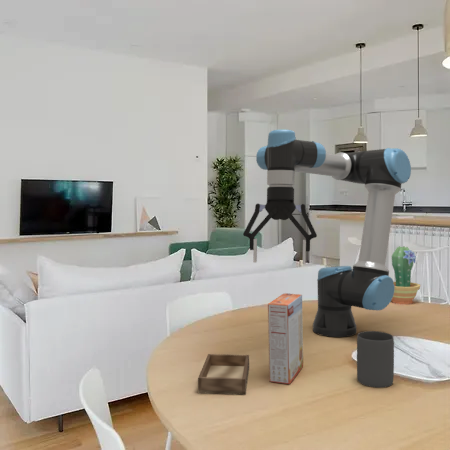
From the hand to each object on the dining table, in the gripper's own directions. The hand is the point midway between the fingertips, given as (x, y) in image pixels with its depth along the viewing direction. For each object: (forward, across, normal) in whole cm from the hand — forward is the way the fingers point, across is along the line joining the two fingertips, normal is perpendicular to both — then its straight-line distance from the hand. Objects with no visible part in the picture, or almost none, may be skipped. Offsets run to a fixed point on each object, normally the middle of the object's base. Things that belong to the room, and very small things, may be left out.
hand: (279, 262), depth 139 cm
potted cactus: (+27, -53, -91) cm, 109 cm away
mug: (+29, -26, +6) cm, 39 cm away
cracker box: (+30, -2, +6) cm, 30 cm away
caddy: (+30, +13, +11) cm, 35 cm away
